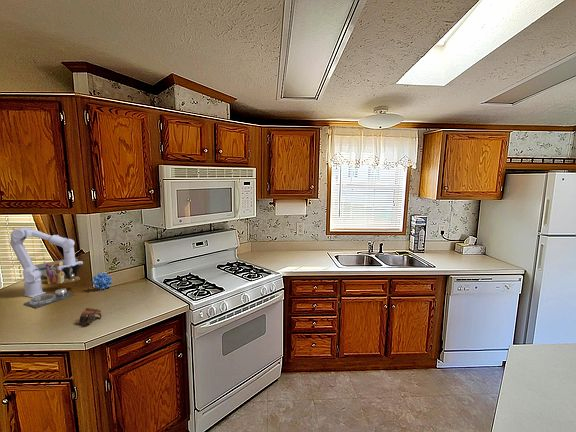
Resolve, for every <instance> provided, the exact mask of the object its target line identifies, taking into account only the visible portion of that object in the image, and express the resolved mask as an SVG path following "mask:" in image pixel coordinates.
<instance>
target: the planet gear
mask: <svg viewBox="0 0 576 432" xmlns="http://www.w3.org/2000/svg"><path fill="white" fill-rule="evenodd" d="M78 281H81V278H80V276H78V275H77V276H76V277H75V273H73V272H71V273H70V278H69V279H68V278H67V277H66V278H64V282H63V283H65V284H66V283H74V282H78Z"/></svg>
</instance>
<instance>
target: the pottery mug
mask: <svg viewBox="0 0 576 432" xmlns="http://www.w3.org/2000/svg"><path fill="white" fill-rule="evenodd" d="M101 312H102V310H101V309H98V308H91V307H86V308H85V310H83V311H82V312H81V314H80V315H79V316H80V317H79V319H78V325H79V326H80V325H81V326H87V324H92V323H93V322H94V319H95V317H96V315H97V316H99V319H101V318H102V317H103V316H102V313H101Z"/></svg>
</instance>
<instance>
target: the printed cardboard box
mask: <svg viewBox="0 0 576 432" xmlns="http://www.w3.org/2000/svg"><path fill="white" fill-rule="evenodd" d="M61 261H62V262H63V265H65V261H64V259H60V260H54V261H53V260H52V262H61ZM75 262H79V260H78V258H76V257H75ZM46 263H47V262H43V263H38V264H34V265H35V266H36V267H37V268H38V269H39V270H41V271H42V276H44V277H46V278H47V272H46ZM68 269H70V274H71V273H73V270H72V267H68ZM64 277H66V275H65V273H64Z"/></svg>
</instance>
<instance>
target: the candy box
mask: <svg viewBox="0 0 576 432" xmlns="http://www.w3.org/2000/svg"><path fill="white" fill-rule="evenodd" d="M45 263H46V273H47V277H46V279H47V284H48V285H57V284H63V283H65V282H64V279H65V276H64V272H63V271H62V269H61V270H58V269H57V267H59V266H62V265H63V262H62V261H61V262H53V261H48V262H45Z"/></svg>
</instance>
